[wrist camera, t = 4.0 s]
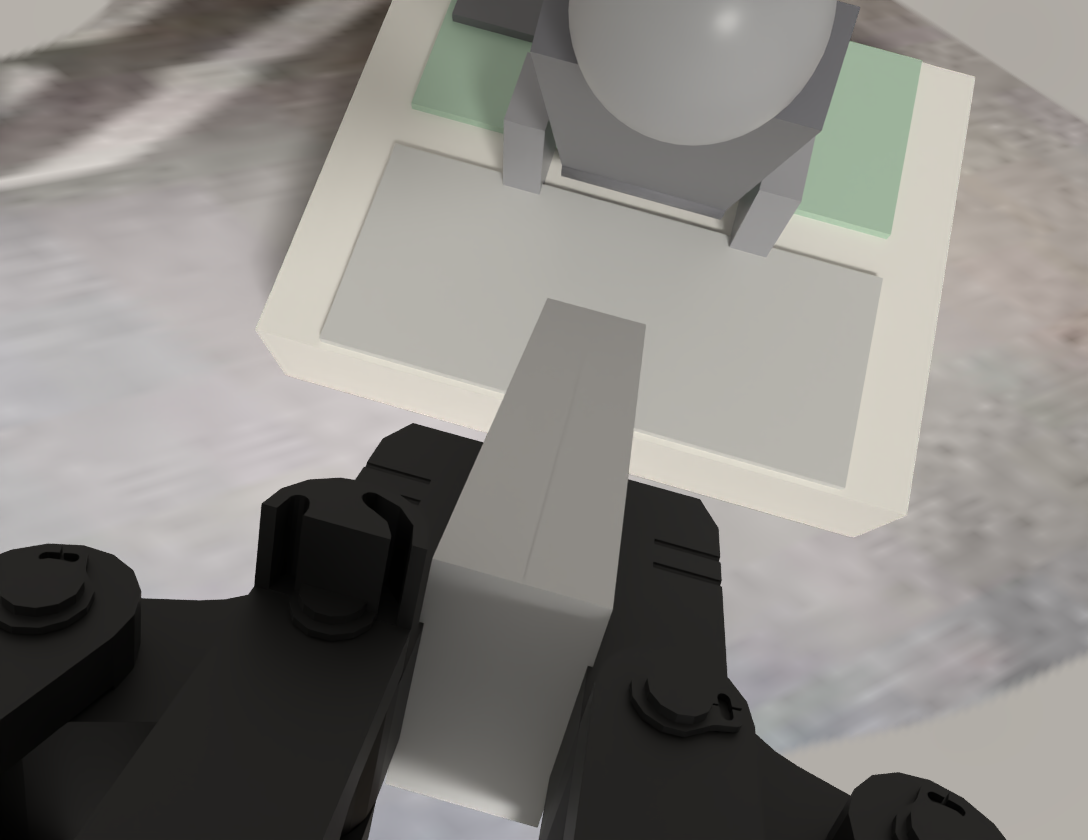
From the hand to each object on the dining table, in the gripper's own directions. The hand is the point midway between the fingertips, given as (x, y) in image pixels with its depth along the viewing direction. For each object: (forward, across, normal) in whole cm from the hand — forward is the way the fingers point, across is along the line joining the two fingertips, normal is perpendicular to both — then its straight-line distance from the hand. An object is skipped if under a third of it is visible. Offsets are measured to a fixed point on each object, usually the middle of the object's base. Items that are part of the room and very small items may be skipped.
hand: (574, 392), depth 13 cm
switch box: (+19, 0, +3) cm, 20 cm away
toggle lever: (+16, 0, -1) cm, 16 cm away
